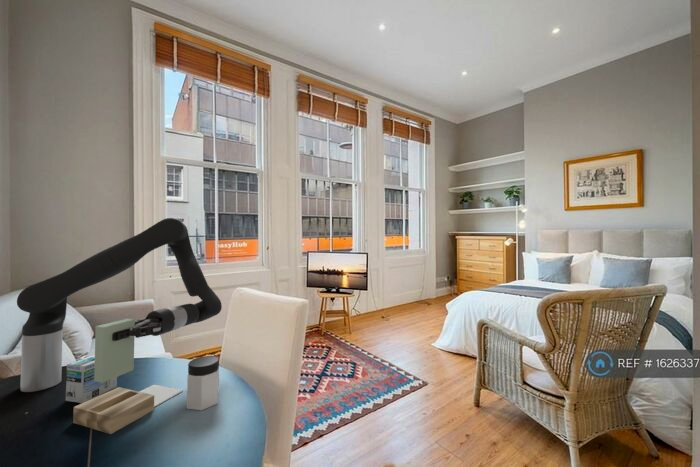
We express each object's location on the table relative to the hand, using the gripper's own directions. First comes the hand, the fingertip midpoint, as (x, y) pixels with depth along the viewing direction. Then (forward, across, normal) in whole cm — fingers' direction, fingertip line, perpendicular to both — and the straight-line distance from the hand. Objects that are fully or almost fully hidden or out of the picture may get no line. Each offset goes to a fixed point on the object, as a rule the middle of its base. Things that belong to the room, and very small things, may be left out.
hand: (108, 336), depth 79 cm
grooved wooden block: (-2, 0, +22) cm, 22 cm away
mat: (-13, 0, +22) cm, 26 cm away
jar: (-15, +17, +22) cm, 32 cm away
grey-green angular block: (-2, 0, +11) cm, 11 cm away
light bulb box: (-8, -19, +22) cm, 30 cm away
